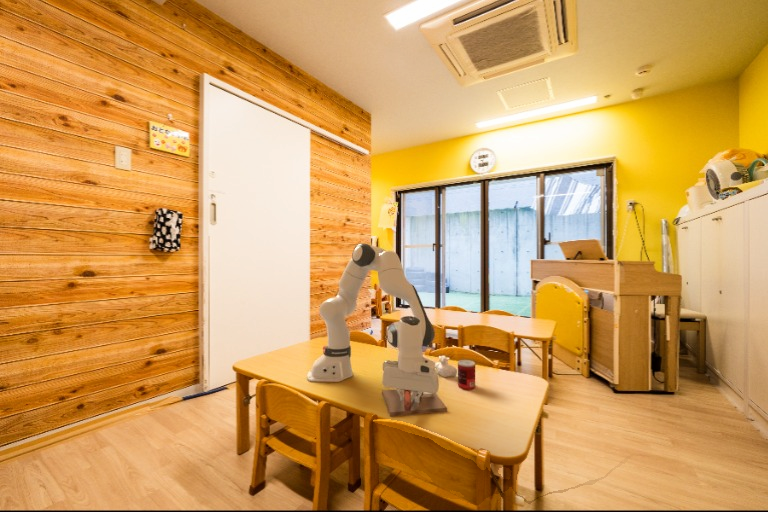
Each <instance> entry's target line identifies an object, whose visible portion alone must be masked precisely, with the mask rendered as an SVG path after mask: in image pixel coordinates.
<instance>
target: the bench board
mask: <svg viewBox="0 0 768 512" xmlns="http://www.w3.org/2000/svg"><path fill="white" fill-rule="evenodd" d="M402 393H403V394H404V389H402ZM381 395H382V398H383V400H384V404H385V406H386V409H387V412H388V415H389V417H398V416H399V417H401V416H410V415H423V414H431V413H432V414H435V413H444V412H445V413H446V412H447V411H448V407H447V406H446V404H445V403H444V402H443V400H442V399H441V398H440V396H439V395H438V394H437V393H436V394H433V393H432V397H422V398H421V396H420V398H419V403H414V404H413V406H412V407H411V411H405V410H404V401H400V395H399V393H398V391H397V388H393V389H383V390H381Z"/></svg>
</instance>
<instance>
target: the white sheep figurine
mask: <svg viewBox="0 0 768 512" xmlns="http://www.w3.org/2000/svg"><path fill="white" fill-rule="evenodd" d="M449 361H450V357H447V356H446V355H439V356H438V362H435V370H436V372H437V374H438V375H439V376H441V377H443V378H448V377H456V376H457V375H458V368H456V367H455V366H454V365H451V364H449V363H448V362H449Z"/></svg>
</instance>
